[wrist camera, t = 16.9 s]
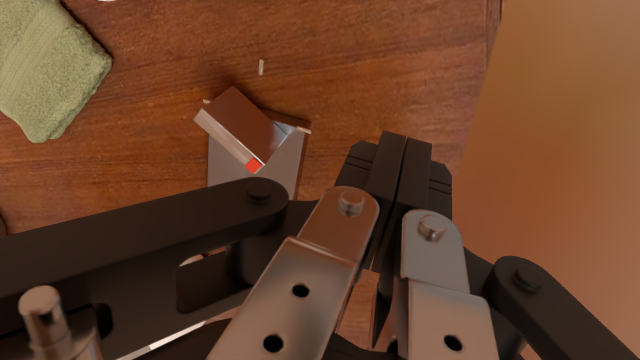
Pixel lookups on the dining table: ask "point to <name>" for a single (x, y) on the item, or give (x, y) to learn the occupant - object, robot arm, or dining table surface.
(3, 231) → the planter
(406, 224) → the robot arm
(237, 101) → the spout
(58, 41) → the washcloth
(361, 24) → the dining table surface
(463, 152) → the dining table surface
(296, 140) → the base
